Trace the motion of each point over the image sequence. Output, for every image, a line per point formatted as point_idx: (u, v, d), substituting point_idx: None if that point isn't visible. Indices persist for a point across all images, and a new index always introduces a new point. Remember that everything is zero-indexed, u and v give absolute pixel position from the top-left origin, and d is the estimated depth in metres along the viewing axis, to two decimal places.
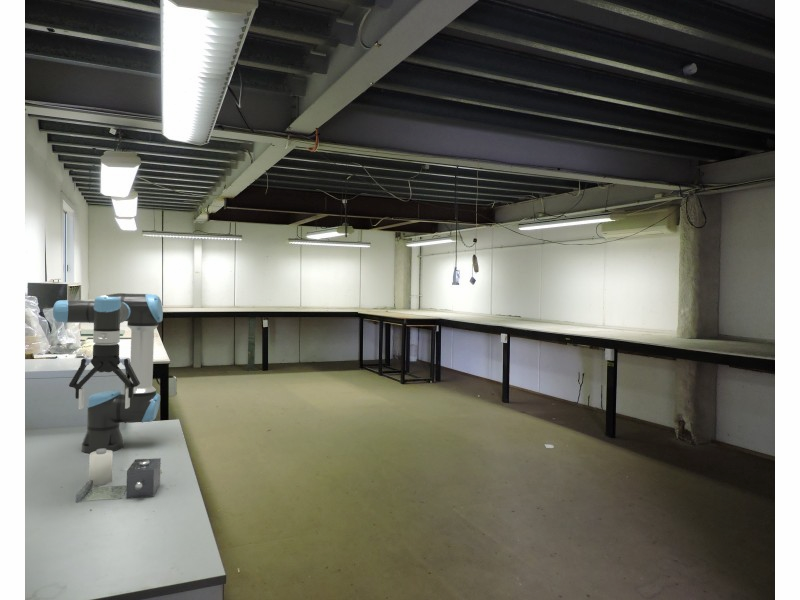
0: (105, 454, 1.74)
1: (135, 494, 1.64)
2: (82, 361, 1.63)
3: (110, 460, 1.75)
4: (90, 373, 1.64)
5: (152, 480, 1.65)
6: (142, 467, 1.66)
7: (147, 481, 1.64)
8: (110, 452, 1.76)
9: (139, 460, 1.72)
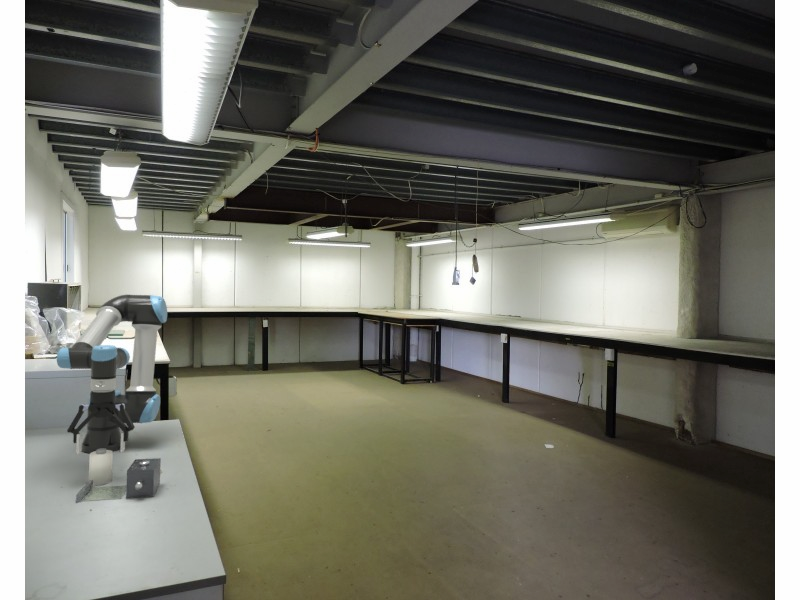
0: (105, 454, 1.74)
1: (135, 494, 1.64)
2: (80, 407, 1.72)
3: (110, 460, 1.75)
4: (87, 419, 1.73)
5: (152, 480, 1.65)
6: (142, 467, 1.66)
7: (147, 481, 1.64)
8: (110, 452, 1.76)
9: (139, 460, 1.72)
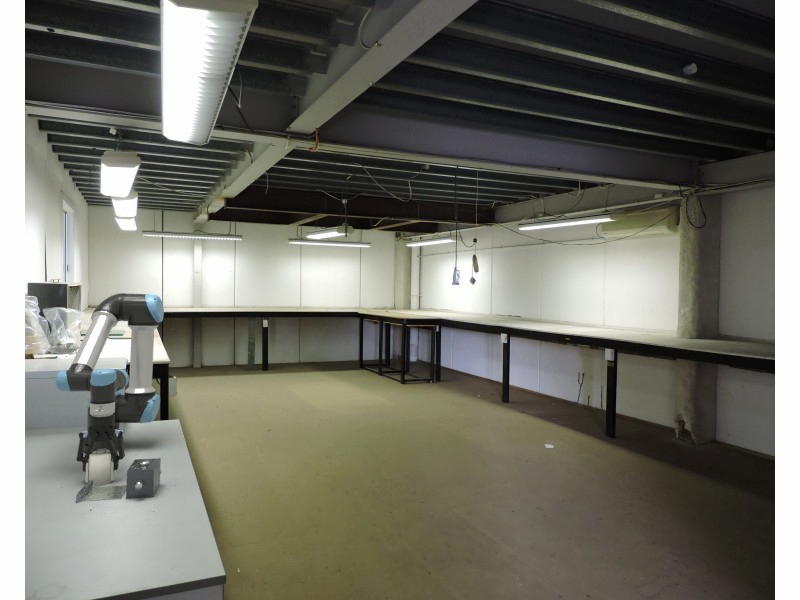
0: (105, 454, 1.74)
1: (135, 494, 1.64)
2: (80, 435, 1.73)
3: (110, 460, 1.75)
4: (91, 445, 1.74)
5: (152, 480, 1.65)
6: (142, 467, 1.66)
7: (147, 481, 1.64)
8: None
9: (139, 460, 1.72)
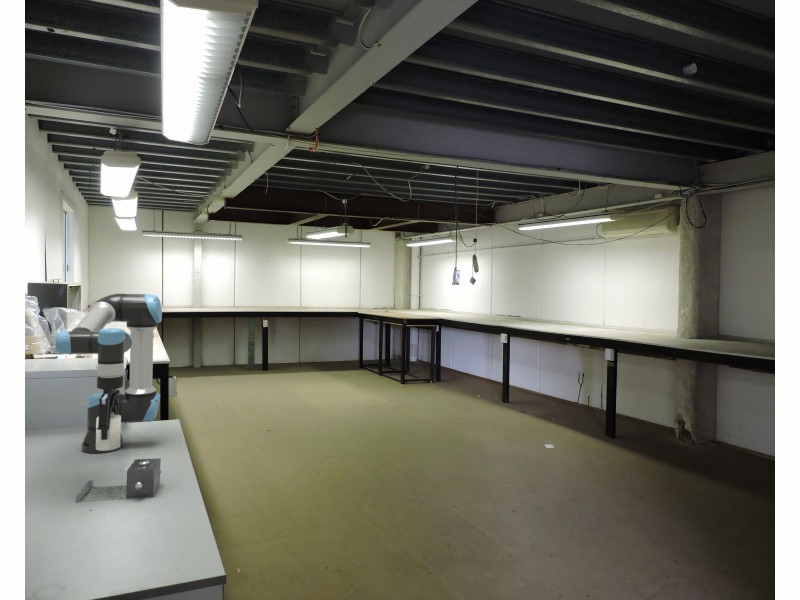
0: None
1: (135, 494, 1.64)
2: None
3: None
4: None
5: (152, 480, 1.65)
6: (142, 467, 1.66)
7: (147, 481, 1.64)
8: None
9: (139, 460, 1.72)
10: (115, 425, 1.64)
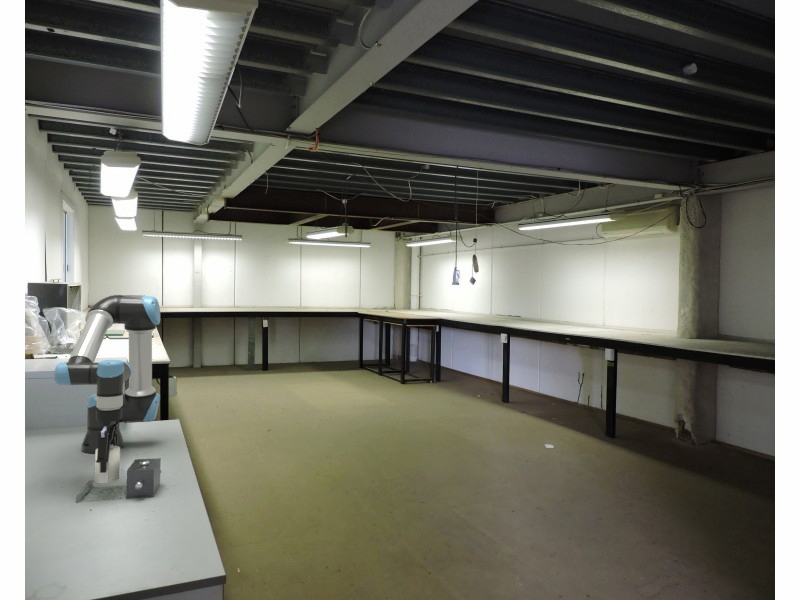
0: None
1: (135, 494, 1.64)
2: None
3: None
4: None
5: (152, 480, 1.65)
6: (142, 467, 1.66)
7: (147, 481, 1.64)
8: None
9: (139, 460, 1.72)
10: (114, 457, 1.65)
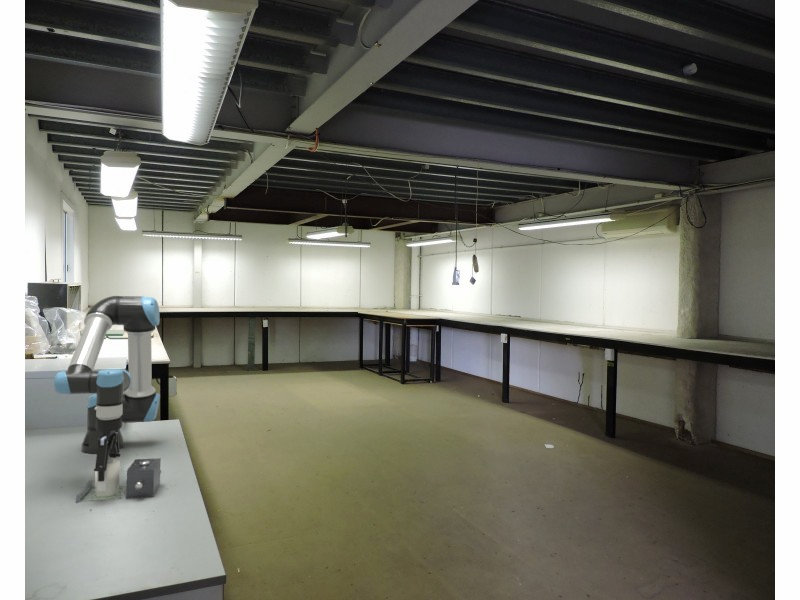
0: None
1: (135, 494, 1.64)
2: None
3: None
4: None
5: (152, 480, 1.65)
6: (142, 467, 1.66)
7: (147, 481, 1.64)
8: None
9: (139, 460, 1.72)
10: (114, 471, 1.65)
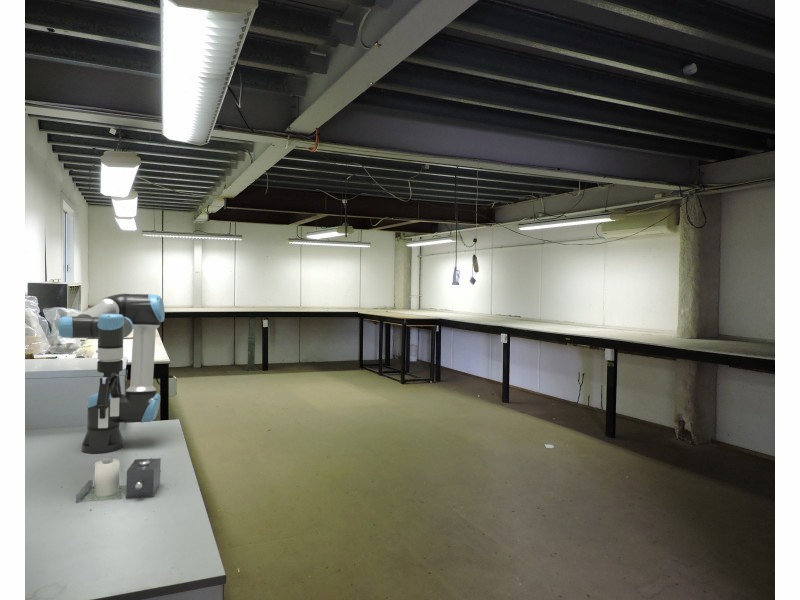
0: (99, 464, 1.64)
1: (135, 494, 1.64)
2: None
3: (100, 473, 1.63)
4: None
5: (152, 480, 1.65)
6: (142, 467, 1.66)
7: (147, 481, 1.64)
8: (105, 465, 1.64)
9: (139, 460, 1.72)
10: (114, 471, 1.65)
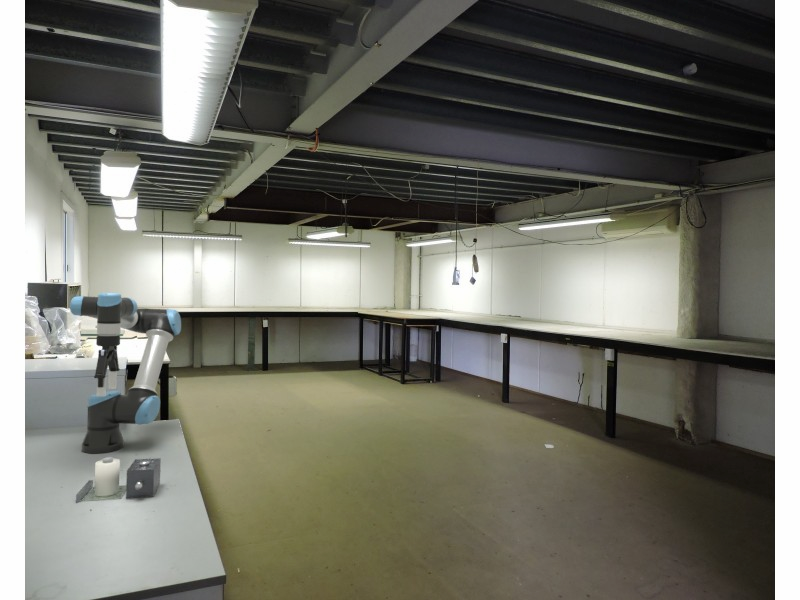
0: (99, 463, 1.64)
1: (135, 494, 1.64)
2: None
3: (100, 472, 1.63)
4: None
5: (152, 480, 1.65)
6: (142, 467, 1.66)
7: (147, 481, 1.64)
8: (105, 464, 1.64)
9: (139, 460, 1.72)
10: (114, 470, 1.65)
